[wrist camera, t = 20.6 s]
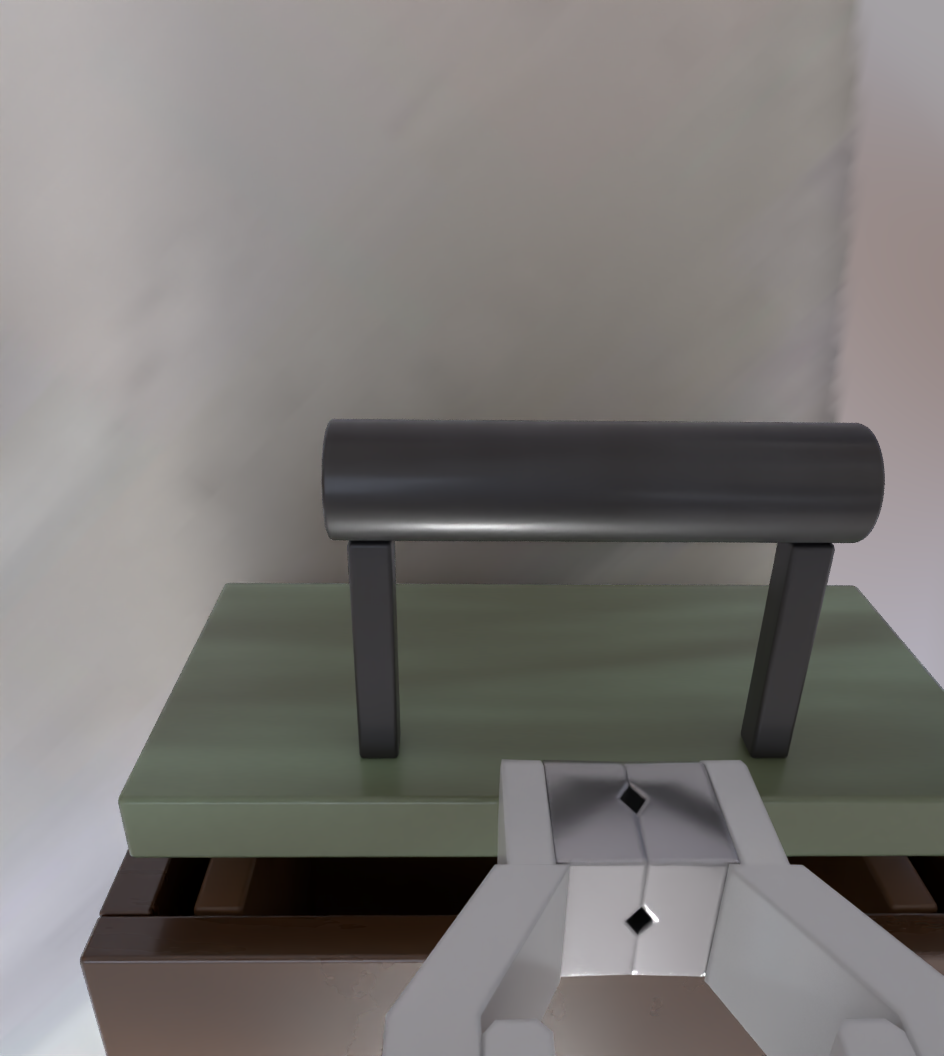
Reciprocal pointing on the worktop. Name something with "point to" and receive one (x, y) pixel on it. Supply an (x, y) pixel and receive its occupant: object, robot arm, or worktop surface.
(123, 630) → the worktop surface
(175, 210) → the worktop surface
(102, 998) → the cabinet
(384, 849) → the drawer
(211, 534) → the worktop surface
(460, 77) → the worktop surface
